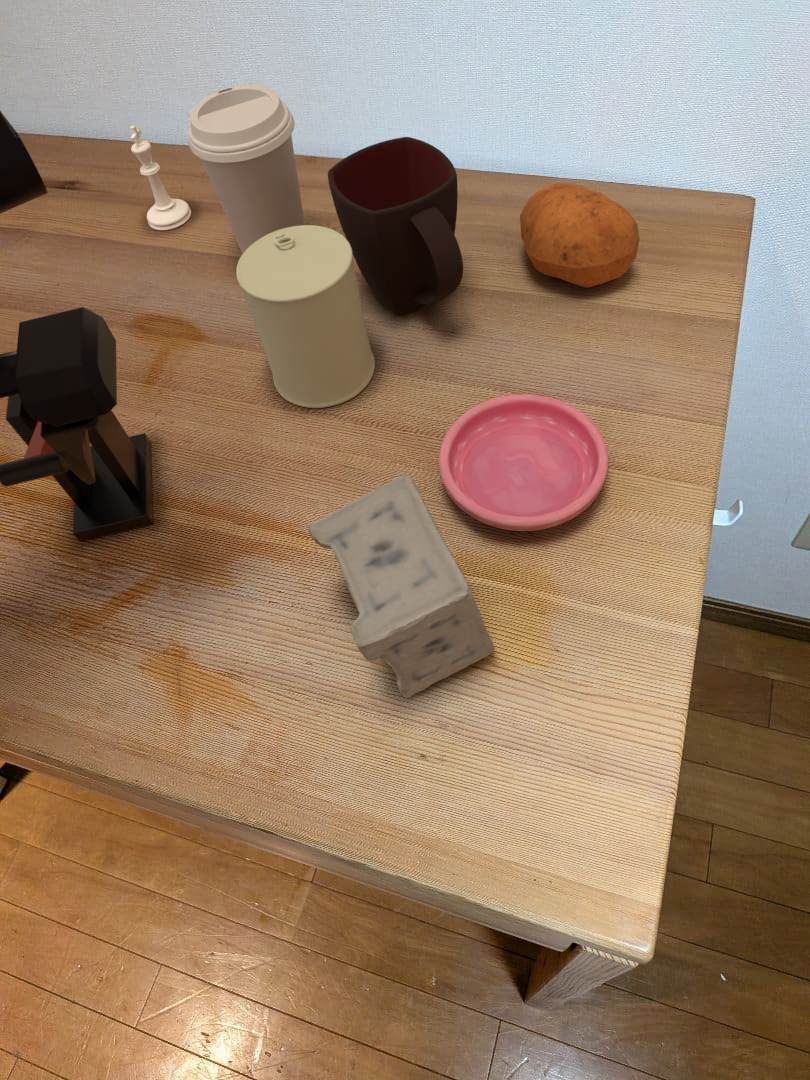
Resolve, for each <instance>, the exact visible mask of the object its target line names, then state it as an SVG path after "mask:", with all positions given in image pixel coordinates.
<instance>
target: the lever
mask: <svg viewBox="0 0 810 1080" xmlns="http://www.w3.org/2000/svg"><path fill="white" fill-rule="evenodd" d="M40 434H41V422H39V421H38V423H37V425H36V428H35V430H34V433H33V435H32V438H31V441H30V443H29V446H27V448H26V451H25V454H24V456H23V458H20V459H16V460H12V461H9V462H8V461H7V462H4V463H0V483H1V485H2V486H4V487H12V486H15V485H20V484H23V483H28V482H32V481H35V480H40V479H44V478H48V477H51V476H52V477H53V475H57V474H61V473H65V472H68V471H69V467H68V465H67V464H66V463H65V462H64V461H63V460H62V459H61V458H60V457H59V456H58V455H57V453H56V452H55V451H53V449H52V448H51V447H50V446H49V445H48V444H47V443H46V442H45V440H44V439H43V438H42V437H41V436H40ZM52 451H53V452H52Z"/></svg>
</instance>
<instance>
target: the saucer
mask: <svg viewBox="0 0 810 1080" xmlns="http://www.w3.org/2000/svg"><path fill="white" fill-rule="evenodd" d="M438 468H439V474H440V475H439V476H440V479H441V482H442V484H443V486H444V489H445V491H446V493H447V494H448V496H449V497H450V499H451V500H452V501H453V503H454V504H455V505H456V506H457V507H458V508H459V509H461V510H462V511H463V512H464V513H465V514H467V515H468V516H470V517H471V518H473V519H475V520H476V521H478V522H481V523H482V524H484V525H487V526H490V527H493V528H496V529H502V530H507V531H515V532H532V531H541V530H545V529H551V528H554V527H558V526H559V525H562V524H564V523H567V522H568V521H570V520H572V519H575V517H577V516H579V515H580V514H581V513H583V512H584V511H585V510H587V509H588V508H589V507H590V506H591V505H592V503H593V502H595V500H596V499H597V497H598V496H599V494H600V493H601V491H602V488H603V487H604V485H605V482H606V478H607V475H608V470H609V452H608V447H607V443H606V440H605V438H604V436H603V434H602V432H601V431H600V429H599V427H598V426H597V425H596V424H595V422H594V421H593V420H592V419H591V418H590V417H589V416H588V415H587V414H586V413H584V412H583V411H581V410H580V409H578V408H577V407H575V406H573V405H571V404H569V403H567V402H565V401H562V400H559V399H557V398H553V397H549V396H546V395H539V394H529V393H517V394H516V393H515V394H508V395H502V396H498V397H494V398H491V399H487V400H485V401H482V402H481V403H478V404H476V405H474V406H473V407H471V408H469V409H468V410H466V411H465V412H464V413H463V414H462V415H460V416H459V417H458V418H457V419H456V420H455V421H454V422H453V423H452V425H451V426H450V427H449V428H448V430H447V432H446V433H445V435H444V436H443V439H442V442H441V445H440V448H439V452H438Z"/></svg>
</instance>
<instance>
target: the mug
mask: <svg viewBox="0 0 810 1080" xmlns="http://www.w3.org/2000/svg"><path fill="white" fill-rule="evenodd" d="M327 181H328V186H329V190H330V194H331V198H332V201H333V206H334V208H335V212H336V215H337V217H338V218H337V219H338V220H339V223H340V226H341V229H342V232H343V234H344V235H343V236H344V237H345V238H346V239H347V241H348V242H349V244H350V246H351V248H352V253H353V259H354V261H355V263H356V265H357V267H358V270H359V271H360V273H361V275H362V278H363V279H364V281H365V283H366V285H367V286H368V288H369V290H370V293H372V295H373V297H374V298H375V300H376V301H377V303H378V304H379V305H380V306H381V307H382V308H383V309H385V310H386V311H388V312H390V313H392V314H394V315H396V316H401V315H406V314H411V313H413V312H417V311H419V310H422V309H423V308H425V307H427V306H429V305H431V304H434V303H438V302H441V301H444V300H446V298H448V297H449V296H451V295H452V294H453V293H454V292H456V290H457V289H458V288H459V287H460V285H461V283H462V281H463V276H464V275H463V274H464V262H463V256H462V252H461V248H460V245H459V241H458V239H457V238H456V234H455V233H456V227H457V219H458V218H457V216H458V197H459V196H458V191H459V190H458V174H457V171H456V168H455V166H454V164H453V163H452V161H451V159H450V158H448V156H447V155H446V154H445V153H444V152H442V151H441V150H440V149H439V148H437V147H435V146H434V145H433V144H430V143H428V142H426V141H423V140H421V139H418V138H414V137H411V136H403V137H397V138H391V139H388V140H383V141H381V142H377V143H374V144H371V145H368V146H366V147H363V148H362V149H359V150H357V151H355V152H353V153H351V154H349V155H347V156H346V157H344V158H342V159H341V160H339V162H337V163H335V164H334V165H333V166H332V167H330V169H329V170H328V172H327Z"/></svg>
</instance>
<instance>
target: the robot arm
mask: <svg viewBox="0 0 810 1080" xmlns="http://www.w3.org/2000/svg"><path fill="white" fill-rule="evenodd" d="M48 193H49V192H48V189H47V187H46V185H45V183H44V180H43V178H42V176H41V174H40V172H39V170H38V168H37V166H36V164H35V162H34V161H33V159H32V157H31V155H30V153H29V151H28V150H27V148H26V146H25V143H24V142H23V140H22V138H21V137H20V135H19V133H18V132H17V131H16V129H15V128H14V127H13V125H12V124H11V123H10V121H9V120H8V119H7V117H6V116H5V115H4V113H3V112H2V111H1V110H0V215H1V214H3V213H5V212H7V211H10V210H12V209H14V208H16V207H17V208H18V207H19V206H21V205H24V204H25V203H28V202H30V201H33V200H35V199H37V198H40V197H42V196H45V195H46V194H48ZM17 335H18V336H17V344H16V349H15V350H12V351H8V352H4V353H0V399H4V398H8V396H12V395H16V394H19V396H20V399H21V402H22V405H23V406H24V408H25V409H26V410H27V412H28V413H29V414H30V415H31V417H32V418H33V419H34V420H36V421H39V422H41V434H40V436H41V437H42V438H43V439H44V440H45V442H46V443H47V444H48V445H49V446H50V447H51V448H52V449H53V450H54V451H55V452H56V453H57V455H58V456H59V457H60V458H61V459H62V460H63V461H64V462H65V463H66V464H67V465H68V467H69V468H70V469H71V470H72V471H73V472H74V473H75V474H76V475H77V476H78V477H79V478H80V479H82V480H83V481H84V482H86V483H87V484H94V483H95V467H94V462H93V457H92V452H91V447H90V446H91V444H90V442H89V437H88V432H87V430H89V429H92V428H93V427H95V426H96V425H97V424H98V422H99V420H100V416H103V415H106V414H107V413H108V412H109V411H111V410H112V411H113V409H114V408H115V407H116V406H117V405H118V390H117V389H118V387H117V381H118V379H117V377H118V376H117V340H116V338H115V336H114V334H113V333H112V331H111V329H110V327H109V325H108V324H107V322H106V320H105V319H104V317H103V316H101V315H100V314H98V313H96V312H95V311H93V310H91V309H90V308H86V307H84V306H82V307H81V306H80V307H77V308H73V309H68V310H65V311H61V312H57V313H53V314H47V315H44V316H40V317H36V318H32V319H28V320H23V321H20V322H19V323H18V332H17Z"/></svg>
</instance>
